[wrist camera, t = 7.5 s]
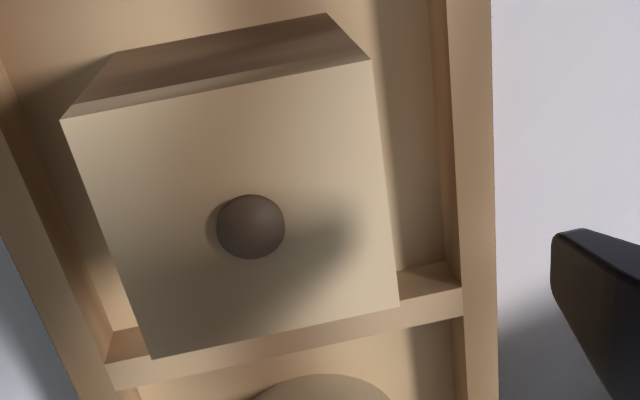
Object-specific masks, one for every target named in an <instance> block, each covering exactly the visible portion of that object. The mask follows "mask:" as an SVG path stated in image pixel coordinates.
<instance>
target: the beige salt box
mask: <svg viewBox="0 0 640 400" xmlns="http://www.w3.org/2000/svg"><path fill="white" fill-rule="evenodd" d="M59 121H60V124H61V126H62V129H63V131H64V134H65V137H66V139H67V142H68V144H69V147H70V149H71V152H72V155H73V157H74V160H75V162H76V165H77V168H78V170H79V173H80V175H81V178H82V181H83V183H84V186H85V188H86V191H87V194H88V196H89V199H90V201H91V204H92V207H93V209H94V212H95V214H96V217H97V220H98V222H99V225H100V227H101V230H102V233H103V235H104V238H105V240H106V243H107V245H108V248H109V251H110V253H111V256H112V258H113V261H114V264H115V266H116V269H117V271H118V274H119V277H120V279H121V282H122V284H123V287H124V290H125V292H126V295H127V297H128V300H129V303H130V305H131V308H132V310H133V313H134V316H135V318H136V321H137V323H138V326H139V329H140V331H141V334H142V336H143V339H144V341H145V344H146V347H147V349H148V352H149V354H150V357H151V360H155V359H160V358H164V357H169V356H174V355H178V354H183V353H187V352H192V351H197V350H201V349H206V348H211V347H215V346H220V345H225V344H229V343H234V342H238V341H243V340H248V339H252V338H257V337H262V336H266V335H271V334H275V333H280V332H285V331H289V330H294V329H299V328H303V327H308V326H313V325H317V324H322V323H326V322H331V321H336V320H340V319H345V318H350V317H354V316H359V315H363V314H368V313H373V312H377V311H382V310H387V309H391V308H396V307H400V300H399V291H398V283H397V274H396V265H395V257H394V248H393V240H392V231H391V223H390V214H389V206H388V197H387V188H386V180H385V171H384V163H383V154H382V146H381V137H380V128H379V120H378V111H377V103H376V94H375V86H374V77H373V68H372V60H371V59H370V58H369V57H368V55H367V54H366V53H365V52H364V51H363V50H362V49H361V48H360V47H359V46H358V45H357V44H356V43H355V42H354V41H353V40H352V39H351V38H350V37H349V36H348V35H347V34H346V33H345V32H344V30H343V29H342V28H341V27H340V26H339V25H338V24H337V23H336V22H335V21H334V20H333V19H332V18H331V17H330V16H329V15H328V14H327V13H320V14H315V15H310V16H304V17H299V18H294V19H288V20H283V21H278V22H273V23H267V24H262V25H257V26H251V27H246V28H241V29H235V30H230V31H225V32H219V33H214V34H209V35H203V36H198V37H193V38H188V39H182V40H177V41H172V42H166V43H161V44H156V45H150V46H145V47H140V48H134V49H129V50H124V51H118V52H116V53H115V54H114V55H113V56H112V57H111V59H110V60H109V61H108V62H107V63H106V65H105V66H104V67H103V68H102V69H101V70H100V72H99V73H98V74H97V75H96V76H95V78H94V79H93V80H92V81H91V82H90V84H89V85H88V86H87V87H86V88H85V90H84V91H83V92H82V93H81V94H80V96H79V97H78V98H77V99H76V100H75V102H74V103H73V104H72V105H71V106H70V108H69V109H68V110H67V111H66V112H65V113H64V115H63V116H62V117H61V118H60V119H59Z"/></svg>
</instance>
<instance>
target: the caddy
mask: <svg viewBox="0 0 640 400" xmlns="http://www.w3.org/2000/svg"><path fill="white" fill-rule="evenodd" d="M320 13H327V14H328V15H329V16H330V17H331V18H332V19H333V20H334V21H335V22H336V23H337V24H338V25H339V26H340V27H341V28H342V29H343V30H344V32H345V33H346V34H347V35H348V36H349V37H350V38H351V39H352V40H353V41H354V42H355V43H356V44H357V45H358V46H359V47H360V48H361V49H362V50H363V51H364V52H365V53H366V54H367V55H368V57H369V58H370V59H371V60H372V68H373V77H374V86H375V94H376V103H377V111H378V120H379V128H380V137H381V146H382V154H383V163H384V171H385V180H386V188H387V197H388V206H389V214H390V223H391V231H392V240H393V248H394V257H395V265H396V274H397V283H398V291H399V300H400V307H396V308H391V309H387V310H382V311H377V312H373V313H368V314H363V315H359V316H354V317H350V318H345V319H340V320H336V321H331V322H326V323H322V324H317V325H313V326H308V327H303V328H299V329H294V330H289V331H285V332H280V333H275V334H271V335H266V336H262V337H257V338H252V339H248V340H243V341H238V342H234V343H229V344H225V345H220V346H215V347H211V348H206V349H201V350H197V351H192V352H187V353H183V354H178V355H174V356H169V357H164V358H160V359H155V360H151V357H150V354H149V352H148V349H147V347H146V344H145V341H144V339H143V336H142V334H141V331H140V329H139V326H138V323H137V321H136V318H135V316H134V313H133V310H132V308H131V305H130V303H129V300H128V297H127V295H126V292H125V290H124V287H123V284H122V282H121V279H120V277H119V274H118V271H117V269H116V266H115V264H114V261H113V258H112V256H111V253H110V251H109V248H108V245H107V243H106V240H105V238H104V235H103V233H102V230H101V227H100V225H99V222H98V220H97V217H96V214H95V212H94V209H93V207H92V204H91V201H90V199H89V196H88V194H87V191H86V188H85V186H84V183H83V181H82V178H81V175H80V173H79V170H78V168H77V165H76V162H75V160H74V157H73V155H72V152H71V149H70V147H69V144H68V142H67V139H66V137H65V134H64V131H63V129H62V126H61V124H60V121H59V119H60V118H61V117H62V116H63V115H64V113H65V112H66V111H67V110H68V109H69V108H70V106H71V105H72V104H73V103H74V102H75V100H76V99H77V98H78V97H79V96H80V94H81V93H82V92H83V91H84V90H85V88H86V87H87V86H88V85H89V84H90V82H91V81H92V80H93V79H94V78H95V76H96V75H97V74H98V73H99V72H100V70H101V69H102V68H103V67H104V66H105V65H106V63H107V62H108V61H109V60H110V59H111V57H112V56H113V55H114V54H115V53H116V52H118V51H124V50H129V49H134V48H140V47H145V46H150V45H156V44H161V43H166V42H172V41H177V40H182V39H188V38H193V37H198V36H203V35H209V34H214V33H219V32H225V31H230V30H235V29H241V28H246V27H251V26H257V25H262V24H267V23H273V22H278V21H283V20H288V19H294V18H299V17H304V16H310V15H315V14H320ZM0 234H1V237H2V239H3V241H4V243H5V245H6V247H7V249H8V251H9V253H10V255H11V257H12V259H13V261H14V264H15V266H16V268H17V270H18V272H19V274H20V276H21V278H22V280H23V282H24V284H25V286H26V288H27V291H28V293H29V295H30V297H31V299H32V301H33V303H34V305H35V307H36V309H37V311H38V313H39V315H40V318H41V320H42V322H43V324H44V326H45V328H46V330H47V332H48V334H49V336H50V338H51V340H52V342H53V345H54V347H55V349H56V351H57V353H58V355H59V357H60V359H61V361H62V363H63V365H64V367H65V369H66V372H67V374H68V376H69V378H70V380H71V382H72V384H73V386H74V388H75V390H76V392H77V394H78V396H79V399H80V400H253V399H254V398H255V397H256V396H258V395H259V394H261V393H262V392H264V391H265V390H267V389H269V388H271V387H273V386H275V385H277V384H279V383H282V382H284V381H287V380H290V379H293V378H297V377H301V376H306V375H312V374H340V375H347V376H351V377H355V378H359V379H361V380H364V381H366V382H369V383H371V384H372V385H374V386H376V387H378V388H379V389H380V390H381V391H383V392H384V393H385V394H386V395H387V396H388V397H389V398H390V399H391V400H499V379H498V331H497V283H496V234H495V186H494V138H493V90H492V41H491V0H0Z"/></svg>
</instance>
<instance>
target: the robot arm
mask: <svg viewBox="0 0 640 400" xmlns="http://www.w3.org/2000/svg"><path fill="white" fill-rule="evenodd" d="M550 285H551V290H552V294H553V296H554V298H555V300H556V302H557V304H558V306H559V308H560V309H561V311H562V313H563V315H564V317H565V318H566V320H567V322H568V324H569V326H570V327H571V329H572V331H573V333H574V334H575V336H576V338H577V340H578V342H579V343H580V345H581V347H582V349H583V351H584V352H585V354H586V356H587V358H588V360H589V361H590V363H591V365H592V367H593V369H594V370H595V372H596V374H597V376H598V377H599V379H600V381H601V382H602V384H603V386H604V387H605V389H606V390H607V392H608V393H609V395H610V396H611V398H612V399H613V400H640V245H637V244H634V243H630V242H627V241H624V240H621V239H618V238H614V237H611V236H608V235H605V234H601V233H598V232H595V231H592V230H589V229H585V228H579V229H574V230H570V231H565V232H561V233H557V234H556V235H555V236H554V237H553V239H552V243H551V268H550Z"/></svg>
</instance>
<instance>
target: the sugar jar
mask: <svg viewBox="0 0 640 400" xmlns="http://www.w3.org/2000/svg"><path fill="white" fill-rule="evenodd" d="M253 400H391V399H390V398H389V397H388V396H387V395H386V394H385V393H384V392H383V391H381V390H380V389H379V388H378V387H376V386H374V385H372V384H371V383H369V382H366V381H364V380H361V379H359V378H355V377H351V376H347V375H340V374H312V375H306V376H301V377H297V378H293V379H290V380H287V381H284V382H282V383H279V384H277V385H275V386H273V387H271V388H269V389H267V390H265V391H264V392H262V393H261V394H259V395H258V396H256V397H255V398H254V399H253Z"/></svg>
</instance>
